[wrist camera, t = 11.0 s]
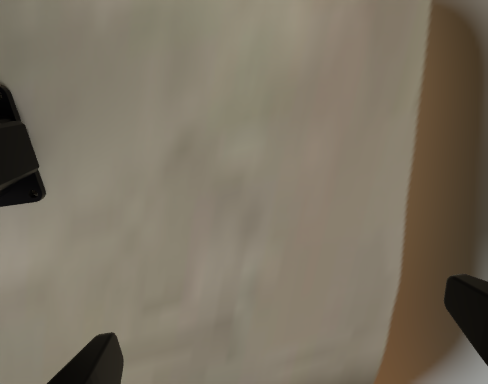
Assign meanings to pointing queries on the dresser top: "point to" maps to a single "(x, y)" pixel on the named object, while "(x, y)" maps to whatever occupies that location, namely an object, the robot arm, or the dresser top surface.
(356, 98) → the dresser top surface
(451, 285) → the robot arm
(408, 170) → the dresser top surface
